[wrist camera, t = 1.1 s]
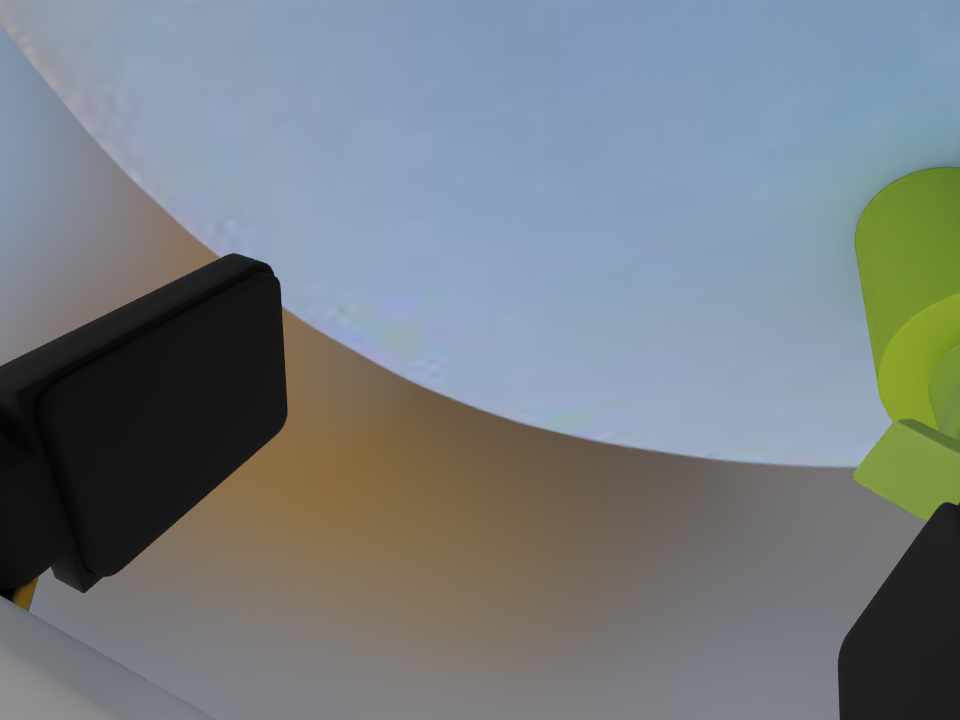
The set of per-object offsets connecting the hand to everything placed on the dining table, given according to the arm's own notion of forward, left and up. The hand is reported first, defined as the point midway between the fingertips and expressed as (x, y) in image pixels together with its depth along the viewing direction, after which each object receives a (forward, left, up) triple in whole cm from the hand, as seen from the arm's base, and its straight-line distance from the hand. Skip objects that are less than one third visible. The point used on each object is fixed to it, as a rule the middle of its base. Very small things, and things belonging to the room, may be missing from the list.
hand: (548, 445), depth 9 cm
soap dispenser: (+7, +7, -27) cm, 29 cm away
